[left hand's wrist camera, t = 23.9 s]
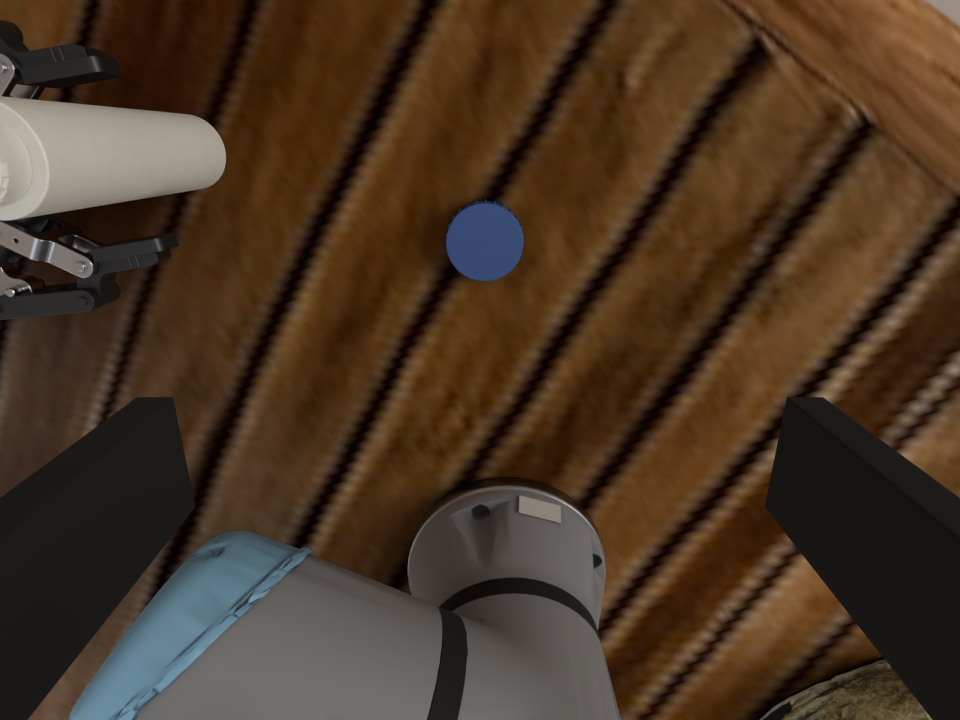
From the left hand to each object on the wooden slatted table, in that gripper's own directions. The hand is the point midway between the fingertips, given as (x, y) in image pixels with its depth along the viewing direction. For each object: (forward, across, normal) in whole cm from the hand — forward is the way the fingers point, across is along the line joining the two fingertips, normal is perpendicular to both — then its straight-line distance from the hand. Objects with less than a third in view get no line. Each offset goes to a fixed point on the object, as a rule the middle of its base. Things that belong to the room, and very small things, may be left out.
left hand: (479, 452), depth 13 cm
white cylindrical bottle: (+26, +18, -6) cm, 32 cm away
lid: (+25, 0, -1) cm, 25 cm away
